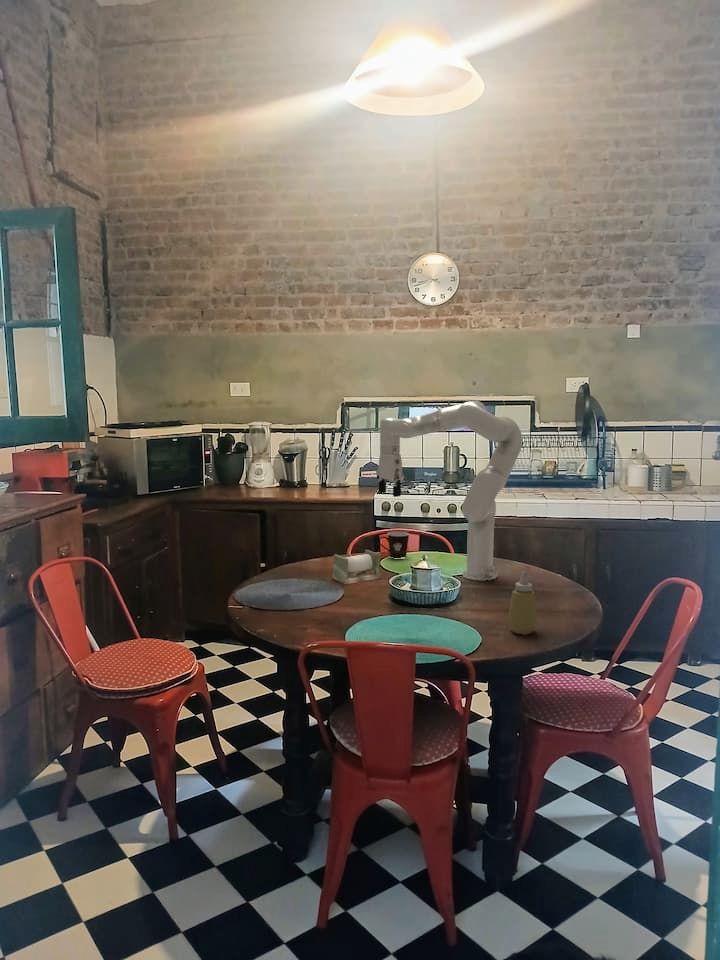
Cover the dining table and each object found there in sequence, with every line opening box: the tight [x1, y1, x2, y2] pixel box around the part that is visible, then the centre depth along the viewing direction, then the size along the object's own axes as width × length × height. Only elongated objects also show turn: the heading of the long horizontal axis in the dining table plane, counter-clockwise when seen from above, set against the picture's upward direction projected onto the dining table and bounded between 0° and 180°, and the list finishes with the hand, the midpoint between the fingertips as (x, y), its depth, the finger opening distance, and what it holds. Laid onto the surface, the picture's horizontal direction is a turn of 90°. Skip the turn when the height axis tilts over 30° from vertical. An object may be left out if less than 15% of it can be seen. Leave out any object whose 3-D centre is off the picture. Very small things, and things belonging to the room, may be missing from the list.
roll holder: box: [332, 549, 381, 585], centre depth 271 cm, size 15×9×9 cm, turn 123°
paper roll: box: [343, 553, 373, 573], centre depth 271 cm, size 10×6×6 cm, turn 122°
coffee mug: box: [378, 531, 410, 558], centre depth 302 cm, size 12×9×10 cm
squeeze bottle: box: [508, 570, 537, 635], centre depth 215 cm, size 8×8×18 cm
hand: (389, 494), depth 285 cm, fingers open, 9 cm apart
